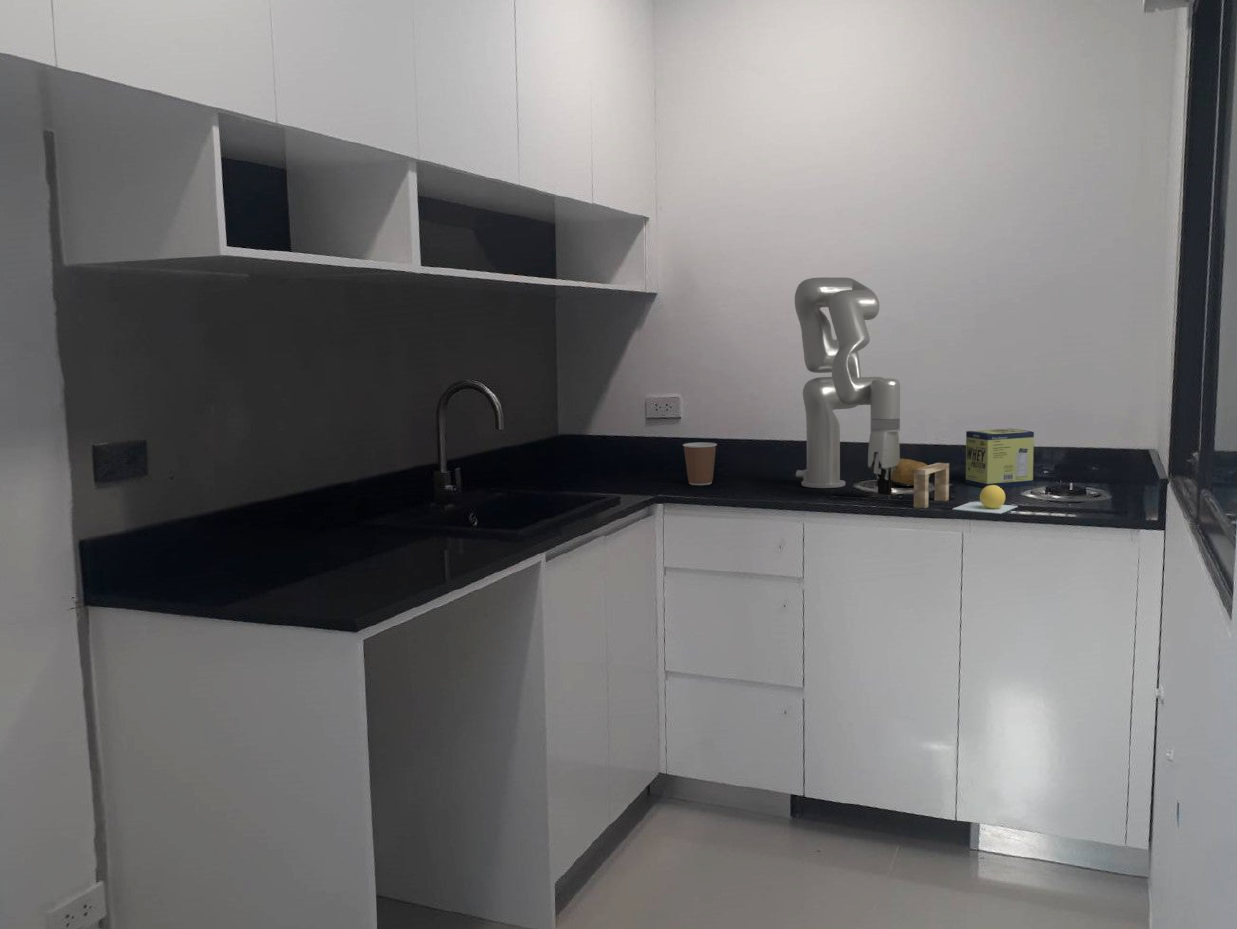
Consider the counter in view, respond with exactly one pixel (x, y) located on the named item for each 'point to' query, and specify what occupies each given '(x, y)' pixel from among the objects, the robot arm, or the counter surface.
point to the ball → (992, 497)
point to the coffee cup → (700, 462)
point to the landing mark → (983, 508)
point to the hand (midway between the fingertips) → (884, 493)
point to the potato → (906, 471)
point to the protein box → (999, 458)
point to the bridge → (923, 481)
